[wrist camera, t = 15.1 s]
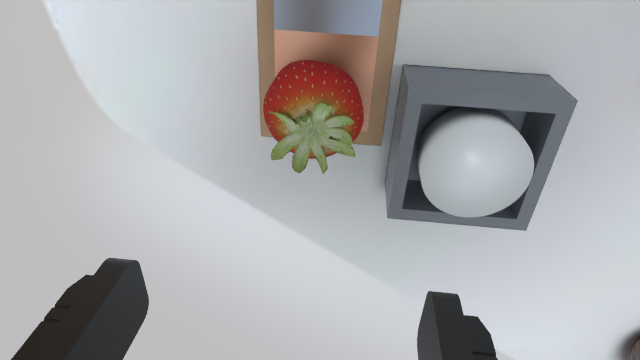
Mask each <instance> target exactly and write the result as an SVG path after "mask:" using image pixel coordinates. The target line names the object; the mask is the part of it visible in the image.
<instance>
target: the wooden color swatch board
mask: <svg viewBox="0 0 640 360" xmlns="http://www.w3.org/2000/svg"><path fill="white" fill-rule="evenodd" d="M400 5H401V0H257V30H258V60H259V89H260V119H261V136H266V137H273V135H272V134H271V133H270V131H269V128H268V126H267V124H266V122H265V118H264V112H263V103H264V99H265V96H266V93H267V91H268V89H269V87H270V85H271V84H272V82H273V81H274V79H275V77H276V76H277V74H278V73H279V72H280V70H281V69H282V68H283V67H285V66H286V65H288V64H289V63H291V62H295V61H299V60H316V61H322V62H326V63H329V64H332V65H335V66H338V67H340V68H341V69H343V70H344V71H346V72H347V73H348V74H349V75H350V76H351V78H352V79H353V80H354V82H355V83H356V85H357V87H358V90H359V93H360V96H361V100H362V104H363V109H364V122H363V125H362V128H361V131H360V133H359V135H358V137H357V138H356V140H355V141H354V142H352V144H363V145H375V146H381V142H382V135H383V128H384V121H385V114H386V106H387V99H388V92H389V85H390V78H391V70H392V63H393V56H394V49H395V41H396V34H397V27H398V20H399V13H400Z"/></svg>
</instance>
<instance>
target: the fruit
mask: <svg viewBox="0 0 640 360" xmlns="http://www.w3.org/2000/svg"><path fill="white" fill-rule="evenodd" d="M263 112H264V118H265V122H266V124H267V126H268V128H269V131H270V133H271V134H272V135H273V137H274V138H275V139H276V140H277V141H278V144H277V145H276V146H275V148H274V149H273V150H272V153H271V159H272V160H278V159H282V158H283V157H284V156H285V155H286V154H287V153H288V152H289V151H291V152H292V153H294V155H293V162H292V167H293V169H294V171H296V172H298V173H301V172H302V171H303V170H304V169H305V168H306V165H307V162H308V158H311V159H314V158H316V160H317V162H318V164H319V165H320V167H321V170H322V172H323V174H324V173H325V172H326V170H327V162H326V157H328V156H331V155H333V154H335V153H340V154H344V155H348V156H352V157H355V153H354V149H353V147H351V146H350V145H351V144H352V142H354V141H355V140H356V138H357V137H358V135H359V133H360V131H361V128H362V125H363V122H364V109H363V104H362V100H361V96H360V93H359V90H358V87H357V85H356V83H355V82H354V80H353V79H352V78H351V76H350V75H349V74H348V73H347V72H346V71H344V70H343V69H341V68H340V67H338V66H335V65H332V64H329V63H326V62H322V61H316V60H299V61H295V62H291V63H289V64H288V65H286V66H285V67H283V68H282V69H281V70H280V72H279V73H278V74H277V76H276V77H275V79H274V81H273V82H272V84H271V85H270V87H269V89H268V91H267V93H266V96H265V99H264V103H263Z"/></svg>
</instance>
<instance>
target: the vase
mask: <svg viewBox="0 0 640 360" xmlns="http://www.w3.org/2000/svg"><path fill="white" fill-rule="evenodd" d="M629 360H640V338H639V339H638V340H637V341H636V343H635V344H634V346H633V348H632V350H631V354H630V359H629Z"/></svg>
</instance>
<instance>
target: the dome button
mask: <svg viewBox="0 0 640 360" xmlns="http://www.w3.org/2000/svg"><path fill="white" fill-rule="evenodd" d="M416 158H417V165H418V169H419V174H420V179H421V184H422V188H423V191H424V193H425V195H426V197H427V198H428V200H429V201H430V202H431V203H432V204H433V205H434V206H435V207H437V208H438V209H440V210H441V211H443V212H445V213H448V214H450V215H454V216H458V217H470V218H471V217H481V216H486V215H490V214H493V213H496V212H498V211H500V210H502V209H505V208H506V207H508V206H509V205H511V204H512V203H513V202H515V201H516V200H517V199H518V198H519V197H520V196H521V195H522V194H523V193H524V191H525V190H526V189H527V187H528V185H529V183H530V181H531V179H532V176H533V171H534V159H533V154H532V152H531V149H530V147H529V146H528V144H527V143H526V141H525V140H524V138H523V137H522V135H521V134H520V132H519V131H518V130H517V128H516V127H515V125H514V124H513V123H512V121H511V120H510V119H509V118H508V117H507V116H505V115H504V114H502V113H501V112H499V111H497V110H494V109H488V108H474V107H462V108H457V109H454V110H452V111H449V112H447V113H445V114H443V115H442V116H440V117H438V118H437V119H436V120H435V121H433V122H432V123H431V124H430V125H429V126H428V127H427V129H426V130H425V131H424V133H423V135H422V136H421V138H420V141H419V143H418V147H417V153H416Z"/></svg>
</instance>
